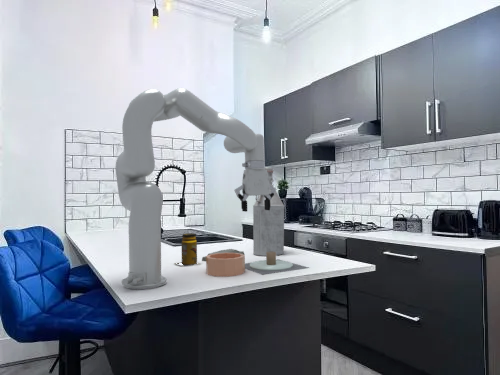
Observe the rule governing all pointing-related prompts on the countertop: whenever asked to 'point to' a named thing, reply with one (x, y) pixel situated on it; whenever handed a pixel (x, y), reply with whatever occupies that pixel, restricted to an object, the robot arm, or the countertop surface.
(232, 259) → the bowl
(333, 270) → the countertop surface
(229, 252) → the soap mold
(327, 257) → the countertop surface
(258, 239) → the swing top bottle
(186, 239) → the condiment
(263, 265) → the lid
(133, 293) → the countertop surface
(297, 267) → the mat
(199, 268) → the countertop surface
